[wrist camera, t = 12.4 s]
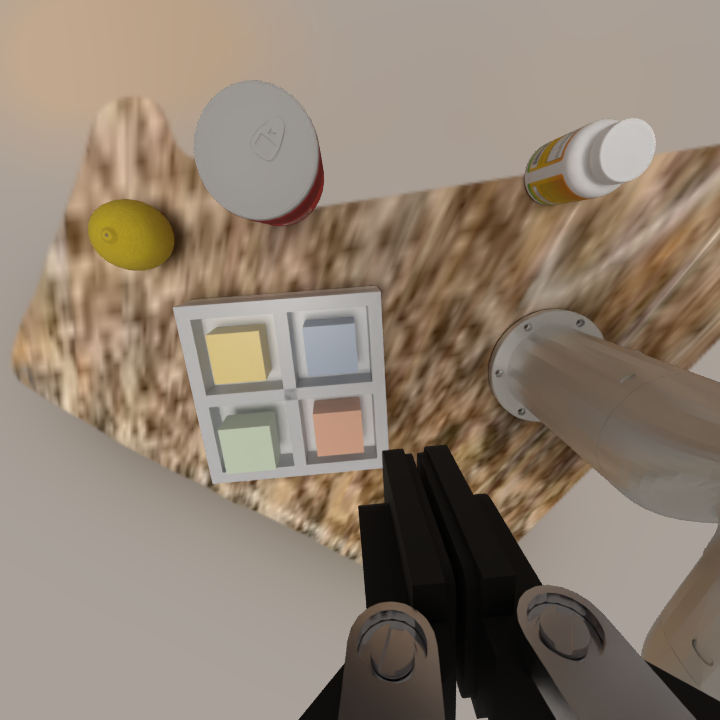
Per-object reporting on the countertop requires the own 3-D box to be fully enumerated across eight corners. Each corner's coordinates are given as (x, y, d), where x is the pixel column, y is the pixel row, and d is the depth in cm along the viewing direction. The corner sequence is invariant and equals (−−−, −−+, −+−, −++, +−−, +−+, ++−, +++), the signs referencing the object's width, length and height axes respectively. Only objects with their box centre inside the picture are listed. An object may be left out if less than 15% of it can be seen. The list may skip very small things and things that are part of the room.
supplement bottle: (578, 200, 36) (663, 186, 26) (523, 210, 36) (589, 199, 26) (579, 137, 34) (670, 98, 25) (521, 147, 34) (591, 112, 25)
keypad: (375, 285, 37) (380, 291, 33) (384, 444, 42) (389, 467, 38) (192, 299, 36) (172, 307, 32) (225, 459, 42) (212, 483, 37)
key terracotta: (359, 397, 38) (361, 410, 35) (362, 437, 39) (364, 452, 37) (314, 401, 38) (312, 414, 35) (319, 441, 39) (317, 456, 36)
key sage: (274, 411, 36) (269, 425, 33) (280, 452, 38) (276, 469, 35) (227, 415, 36) (217, 430, 33) (235, 456, 37) (226, 474, 35)
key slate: (353, 316, 35) (354, 323, 33) (356, 362, 37) (358, 372, 34) (305, 320, 35) (302, 327, 32) (310, 366, 37) (308, 376, 34)
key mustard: (264, 323, 35) (258, 331, 32) (271, 369, 37) (266, 380, 34) (215, 327, 35) (205, 335, 32) (224, 373, 36) (215, 384, 34)
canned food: (337, 153, 33) (337, 112, 23) (306, 240, 35) (294, 239, 25) (253, 114, 32) (212, 52, 21) (227, 206, 34) (178, 191, 23)
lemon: (191, 267, 35) (151, 275, 28) (130, 266, 35) (73, 273, 27) (184, 204, 34) (139, 194, 26) (120, 203, 33) (56, 192, 26)
